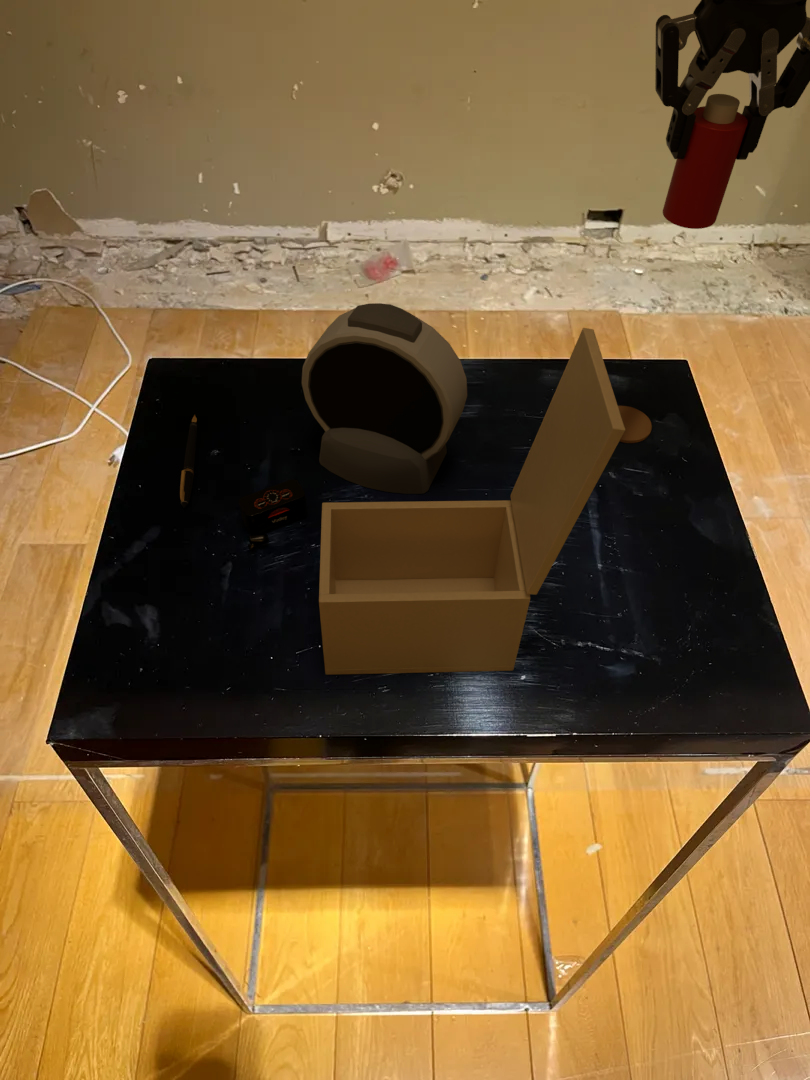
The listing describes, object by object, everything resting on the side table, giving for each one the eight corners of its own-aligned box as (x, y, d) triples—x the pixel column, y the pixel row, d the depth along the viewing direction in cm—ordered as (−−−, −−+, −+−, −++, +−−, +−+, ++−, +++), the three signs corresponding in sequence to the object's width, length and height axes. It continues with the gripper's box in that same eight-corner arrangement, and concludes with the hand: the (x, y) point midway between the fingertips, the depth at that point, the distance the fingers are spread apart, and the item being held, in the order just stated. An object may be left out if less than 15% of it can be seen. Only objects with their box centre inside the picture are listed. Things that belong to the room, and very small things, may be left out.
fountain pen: (190, 418, 93) (188, 408, 92) (201, 418, 93) (199, 408, 92) (179, 512, 84) (176, 502, 83) (190, 512, 84) (188, 502, 83)
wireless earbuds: (233, 523, 83) (228, 501, 81) (298, 499, 86) (295, 477, 83) (251, 555, 81) (247, 533, 78) (317, 529, 83) (315, 507, 81)
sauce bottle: (716, 207, 76) (753, 92, 69) (715, 232, 73) (753, 115, 66) (664, 199, 77) (695, 85, 70) (660, 224, 74) (692, 107, 67)
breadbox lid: (613, 428, 51) (626, 429, 52) (582, 327, 58) (593, 328, 58) (526, 594, 64) (536, 595, 65) (509, 495, 71) (519, 496, 71)
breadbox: (325, 674, 72) (318, 602, 64) (327, 579, 79) (322, 502, 71) (513, 670, 73) (530, 598, 65) (499, 576, 80) (513, 499, 72)
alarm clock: (296, 466, 89) (281, 323, 75) (334, 409, 95) (327, 266, 81) (437, 508, 85) (449, 365, 72) (468, 445, 92) (484, 303, 78)
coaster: (652, 413, 96) (653, 411, 96) (648, 447, 92) (649, 445, 92) (601, 403, 97) (602, 401, 97) (595, 437, 93) (595, 434, 93)
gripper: (695, -75, 55) (635, 175, 68) (902, -71, 56) (804, 176, 69) (667, -103, 60) (616, 135, 73) (858, -99, 61) (774, 137, 74)
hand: (707, 154), depth 71 cm, fingers closed on sauce bottle, 4 cm apart
